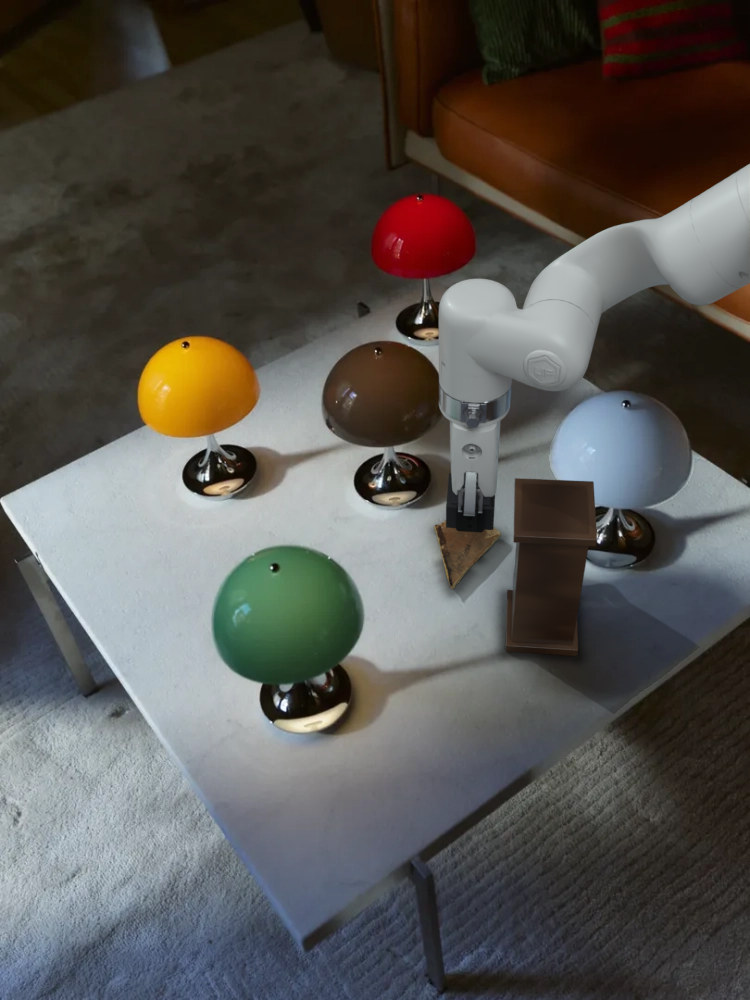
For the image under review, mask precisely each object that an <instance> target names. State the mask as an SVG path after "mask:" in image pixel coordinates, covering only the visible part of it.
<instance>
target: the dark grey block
mask: <svg viewBox="0 0 750 1000" xmlns="http://www.w3.org/2000/svg"><path fill="white" fill-rule="evenodd" d="M447 479H448V480H447V491H446V492H447V493H446V503H445V504H446V505H445V520H446V528H456V505H458V497H459V493H458V495H456V494H455V493H454V492H453V490H452V476H451V472H449V473H448V478H447ZM464 484H465V482H464ZM476 485H478V483H476ZM478 496H479V494H476V502H478ZM464 500H465V494H464V493H463V502H464ZM495 505H496V494H495V495H494V496H493V497H485V496H484V495H483V506H485V513H484V530H493V527H495V508H496V507H495Z"/></svg>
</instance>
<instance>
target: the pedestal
mask: <svg viewBox="0 0 750 1000" xmlns="http://www.w3.org/2000/svg"><path fill="white" fill-rule="evenodd" d="M513 496H514V497H513V503H514V504H513V538H512V539H513V540H512V541H513V543H514V544H515V555H514V568H513V579H512V580H513V581H512V582H513V583H512V589H507V590H506V612H505V613H506V616H505V617H506V619H505V652H506V653H520V654H534V655H535V654H537V655H551V656H552V655H553V656H569V657H570V656H571V657H578V653H579V637H578V636H579V635H578V615H579V608H580V601H581V596H582V589H583V584H584V578H585V572H586V566H587V559H588V553H589V548H590V547H596V546H597V543H598V533H597V532H598V531H597V517H596V516H597V515H596V497H595V483H594V481H589V480H572V479H571V480H570V479H569V480H568V479H547V478H546V479H545V478H544V479H543V478H520V477H519V478H514V495H513Z"/></svg>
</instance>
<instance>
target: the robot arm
mask: <svg viewBox="0 0 750 1000" xmlns="http://www.w3.org/2000/svg"><path fill="white" fill-rule="evenodd" d="M749 284H750V163H749V164H746V166H743V167H742V168H740V169H738V170H737V171H735V172H734V173H732V174H730V175H729V176H728V177H726V178H724V179H723V180H721V181H719V182H718V183H716V184H714V185H713V186H711V187H710V188H708V189H706V190H705V191H703V192H702V193H700V194H699V195H696V196H695V197H693V198H691V199H690V200H688V201H687V202H685V203H683V204H682V205H680V206H679V207H677V208H675V209H673V210H672V211H670V212H668V213H666V214H664V215H663V216H660V217H657V218H647V219H646V218H645V219H640V220H635V221H631V222H627V223H621V224H618V225H613V226H611V227H608V228H606V229H604V230H601V231H599V232H597V233H595V234H594V235H592V236H590V237H589V238H587V239H585V240H583V241H582V242H581V243H579V244H577V245H576V246H574V247H573V248H571V249H570V250H568V251H566V252H565V253H563V254H562V255H560V256H558V257H557V258H556V259H554V260H553V261H552V262H550V263H549V264H548V265H547V266H546V267H545V268H543V269H542V270H541V271H540V273H539V274H538V275H537V276H536V278H535V279H534V280H533V282H532V283H531V285H530V286H529V287H530V288H529V289H528V291H527V293H526V294H527V295H526V297H525V300H524V302H523V306H522V309H521V308H519V307H518V306H517V302H516V299H515V296H514V294H513V293H512V291H511V290H510V289H509V288H508V287H507V286H505V285H504V284H501V283H500V282H498V281H496V280H492V279H487V278H469V279H464V280H461V281H459V282H457V283H454V284H452V285H451V286H450V287H449V288H447V289H446V290H445V292H444V293H443V294H442V296H441V298H440V301H439V304H438V407H439V410H440V412H441V414H442V415H443V417H444V418H446V419H447V420H448V421H449V446H450V447H449V450H450V451H449V452H450V453H449V455H450V473H451V476H452V490H453V492H454V493H455V494H456V495H458V493H459V497H458V505H456V530H457V531H463V532H483V531H484V513H485V506H483V495H484V496H485V497H493V496H494V495H495V496H496V494H497V487H498V471H499V457H500V456H499V455H500V443H501V442H500V441H501V421H502V420H503V419H504V418H505V417H506V416H507V415H508V414H509V412H510V408H511V402H512V401H511V400H512V389H513V387H512V385H513V381H516V382H519V383H522V384H523V385H526V386H529V387H532V388H535V389H538V390H543V391H547V392H562V391H567V390H569V389H572V388H573V387H575V386H576V385H578V384H579V383H580V382H581V380H582V379H583V378H584V376H585V374H586V373H587V370H588V367H589V364H590V360H591V356H592V353H593V348H594V344H595V340H596V337H597V332H598V328H599V324H600V320H601V316H602V314H603V313H605V312H606V311H607V310H609V309H611V308H612V307H614V306H616V305H618V304H619V303H621V302H622V301H624V300H626V299H628V298H630V297H631V296H633V295H636V294H637V293H639V292H641V291H644V290H646V289H649V288H653V287H656V286H657V287H658V286H664V285H666V286H669V287H670V288H671V289H672V290H673V291H674V293H676V294H677V295H678V296H679V297H680V298H681V299H683V301H686V302H687V303H689V304H691V305H694V306H700V307H701V306H708V305H711V304H713V303H715V302H717V301H719V300H721V299H723V298H725V297H726V296H729V295H730V294H733V293H734V292H737V291H738V290H739V289H742V288H744V287H745V286H747V285H749ZM464 482H465V484H464ZM476 483H478V485H476ZM463 493H464V494H465V500H464V502H463ZM476 494H479V496H478V502H476Z"/></svg>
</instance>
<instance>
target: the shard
mask: <svg viewBox="0 0 750 1000" xmlns="http://www.w3.org/2000/svg"><path fill="white" fill-rule="evenodd" d="M433 529H434V532H435V535H436V538H437V542H438V546H439V550H440V555H441V558H442V563H443V567H444V571H445V575H446V580H447V582H448V585H449V588H451V590H455V588H456V587H457V585H458V584H459V583H460V582H461V580H462V579H463V577H464V576H465V575H466V574H467V572H468V571H470V569H471V567H472V566H473V565H475V564H476V563H477V561H478V560H479V559H480V558H481V557H482V556H483V555H484V554H485V553H486V552H487V551H488V550H489V549H490V548H492V547H493V546H494V544H495V543H496V542H497V541H498V540H499V539H500V537H501V536H502V532H501V531H500V530H499V529H497V528H496V527H495V526H493V530H484V531H483V532H463V531H457V530H456V528H446V519H445V520H443V521H442V522H441V523H438V524H435V525H434V527H433Z"/></svg>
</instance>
